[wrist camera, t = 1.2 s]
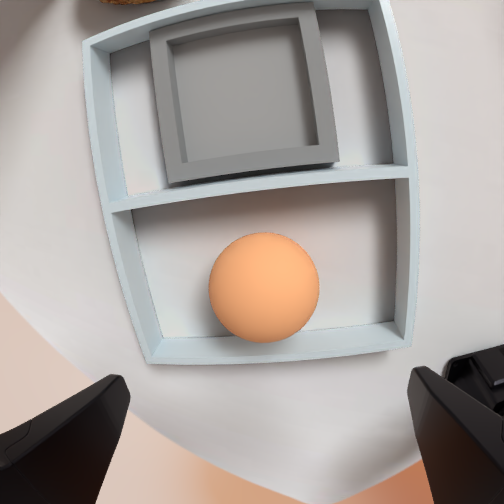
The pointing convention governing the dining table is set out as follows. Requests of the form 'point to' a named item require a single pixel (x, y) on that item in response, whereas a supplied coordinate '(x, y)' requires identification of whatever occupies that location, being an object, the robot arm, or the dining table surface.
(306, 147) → the square tray
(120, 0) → the burger
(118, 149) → the two compartment tray
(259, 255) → the ball
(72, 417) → the robot arm
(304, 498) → the dining table surface
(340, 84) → the dining table surface
